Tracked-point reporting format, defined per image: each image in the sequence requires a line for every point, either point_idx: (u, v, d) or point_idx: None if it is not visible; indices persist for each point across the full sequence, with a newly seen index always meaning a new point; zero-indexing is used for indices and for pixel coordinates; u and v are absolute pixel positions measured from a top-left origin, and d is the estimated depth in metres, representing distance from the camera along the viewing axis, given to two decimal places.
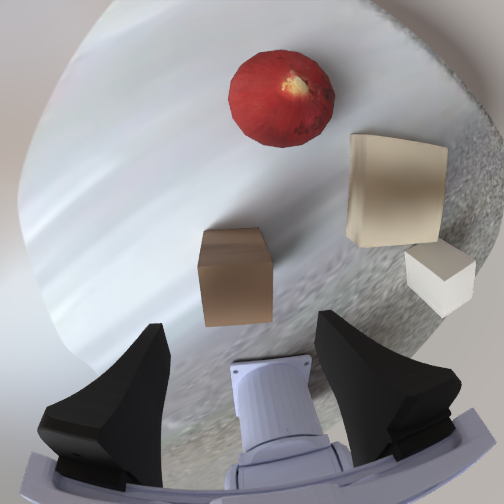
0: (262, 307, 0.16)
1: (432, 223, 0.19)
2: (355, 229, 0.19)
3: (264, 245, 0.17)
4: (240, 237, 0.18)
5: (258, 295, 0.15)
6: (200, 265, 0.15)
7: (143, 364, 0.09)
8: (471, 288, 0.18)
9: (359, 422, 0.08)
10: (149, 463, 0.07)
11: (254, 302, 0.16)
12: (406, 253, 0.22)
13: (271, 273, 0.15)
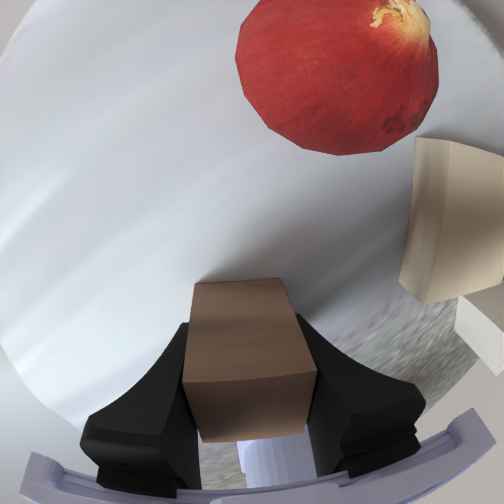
0: (291, 421, 0.09)
1: (500, 262, 0.12)
2: (417, 278, 0.12)
3: (295, 324, 0.10)
4: (253, 302, 0.11)
5: (286, 410, 0.08)
6: (187, 378, 0.07)
7: None
8: None
9: (318, 432, 0.08)
10: (192, 466, 0.07)
11: (278, 418, 0.08)
12: (461, 296, 0.15)
13: (312, 385, 0.08)
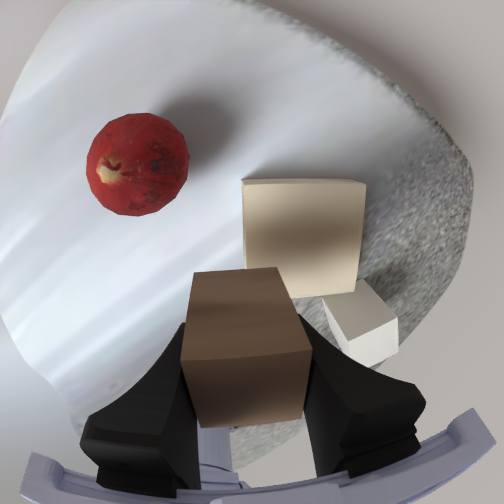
0: (289, 405, 0.09)
1: (344, 272, 0.19)
2: None
3: (291, 307, 0.10)
4: (251, 288, 0.12)
5: (283, 393, 0.09)
6: (185, 356, 0.08)
7: None
8: (394, 344, 0.18)
9: (319, 432, 0.08)
10: (192, 466, 0.07)
11: (276, 401, 0.09)
12: (322, 299, 0.23)
13: (308, 365, 0.08)
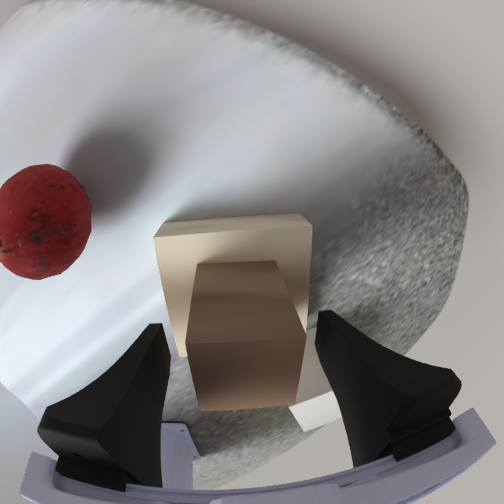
0: (283, 390, 0.10)
1: None
2: None
3: (288, 297, 0.11)
4: (250, 279, 0.12)
5: (278, 377, 0.10)
6: (189, 340, 0.09)
7: (143, 364, 0.09)
8: None
9: (359, 422, 0.08)
10: (149, 463, 0.07)
11: (271, 385, 0.10)
12: None
13: (302, 350, 0.09)
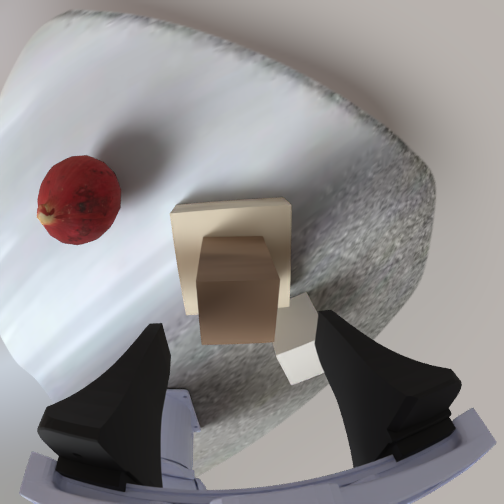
0: (265, 327, 0.14)
1: None
2: None
3: (269, 258, 0.15)
4: (243, 247, 0.17)
5: (260, 314, 0.14)
6: (199, 279, 0.13)
7: (143, 364, 0.09)
8: None
9: (359, 422, 0.08)
10: (149, 463, 0.07)
11: (256, 321, 0.14)
12: None
13: (277, 292, 0.13)
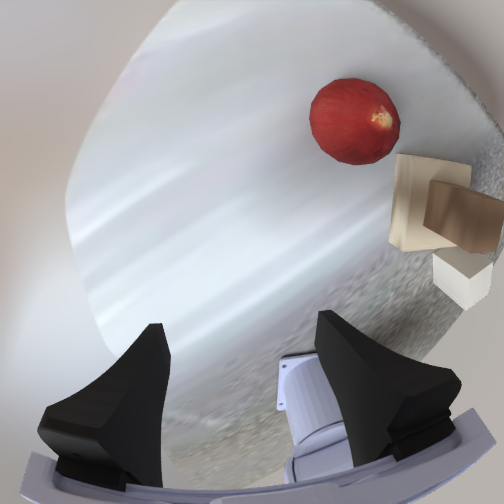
0: (496, 238, 0.14)
1: None
2: (398, 236, 0.21)
3: (485, 194, 0.16)
4: (463, 187, 0.17)
5: (497, 227, 0.14)
6: (481, 197, 0.13)
7: (143, 364, 0.09)
8: (488, 285, 0.20)
9: (359, 422, 0.08)
10: (149, 463, 0.07)
11: (494, 233, 0.14)
12: (434, 255, 0.24)
13: None
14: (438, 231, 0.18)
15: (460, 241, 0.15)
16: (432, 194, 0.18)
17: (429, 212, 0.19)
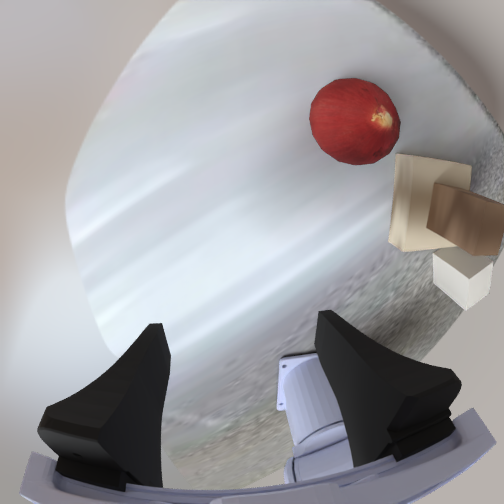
0: (498, 241, 0.15)
1: None
2: (398, 236, 0.21)
3: (488, 198, 0.16)
4: (466, 191, 0.17)
5: (499, 230, 0.14)
6: (485, 200, 0.13)
7: (143, 364, 0.09)
8: (488, 285, 0.20)
9: (359, 422, 0.08)
10: (149, 463, 0.07)
11: (496, 236, 0.14)
12: (434, 255, 0.24)
13: None
14: (441, 233, 0.18)
15: (463, 244, 0.16)
16: (436, 197, 0.18)
17: (433, 215, 0.19)
